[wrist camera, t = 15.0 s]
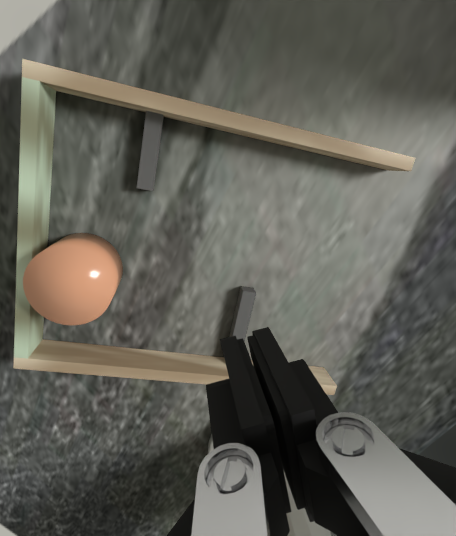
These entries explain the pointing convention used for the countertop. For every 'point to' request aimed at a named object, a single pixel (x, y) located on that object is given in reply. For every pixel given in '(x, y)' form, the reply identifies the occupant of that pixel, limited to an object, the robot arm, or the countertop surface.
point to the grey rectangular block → (150, 150)
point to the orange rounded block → (73, 279)
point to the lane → (38, 208)
